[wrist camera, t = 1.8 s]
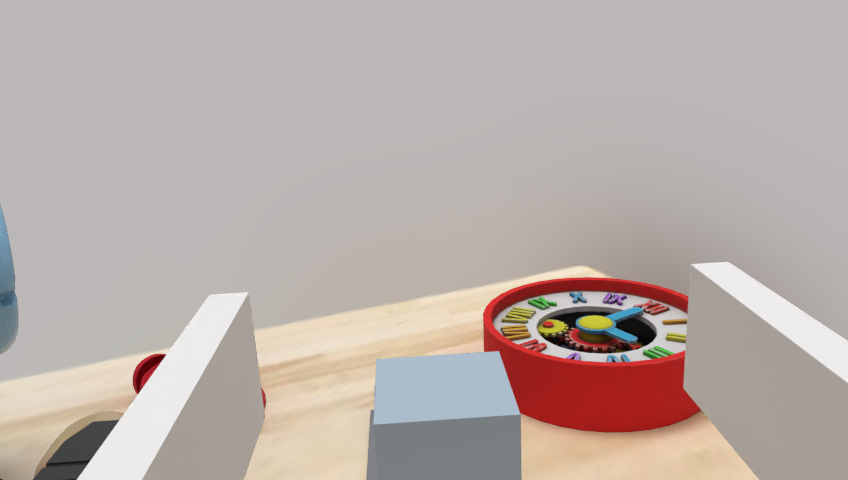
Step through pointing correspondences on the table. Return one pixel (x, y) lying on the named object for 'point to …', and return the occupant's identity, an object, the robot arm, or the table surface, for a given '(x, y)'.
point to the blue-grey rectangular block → (446, 419)
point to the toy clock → (593, 352)
